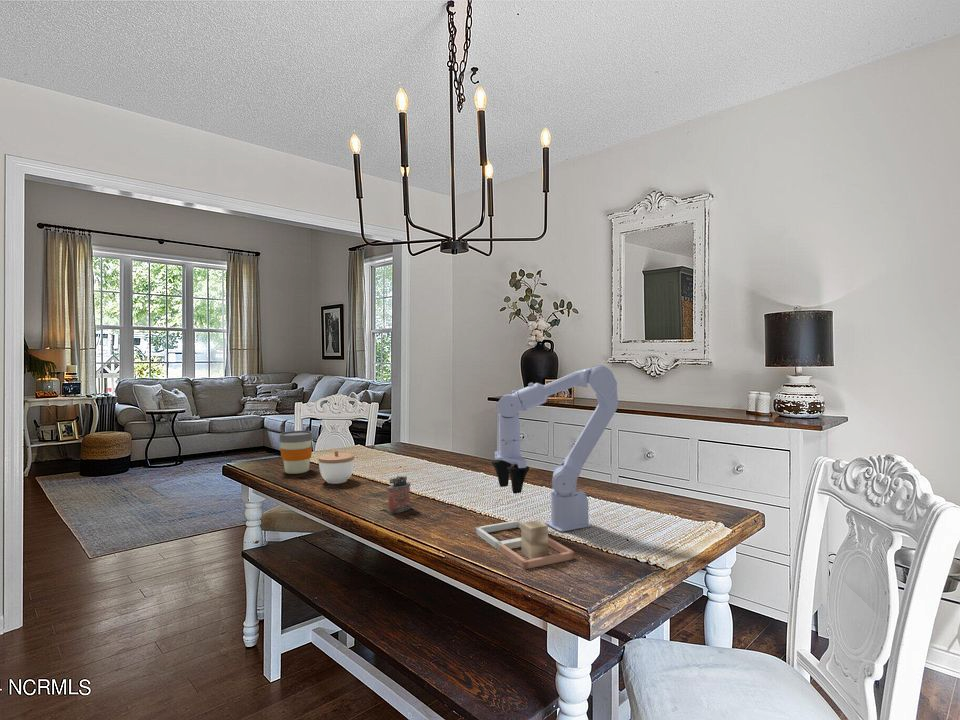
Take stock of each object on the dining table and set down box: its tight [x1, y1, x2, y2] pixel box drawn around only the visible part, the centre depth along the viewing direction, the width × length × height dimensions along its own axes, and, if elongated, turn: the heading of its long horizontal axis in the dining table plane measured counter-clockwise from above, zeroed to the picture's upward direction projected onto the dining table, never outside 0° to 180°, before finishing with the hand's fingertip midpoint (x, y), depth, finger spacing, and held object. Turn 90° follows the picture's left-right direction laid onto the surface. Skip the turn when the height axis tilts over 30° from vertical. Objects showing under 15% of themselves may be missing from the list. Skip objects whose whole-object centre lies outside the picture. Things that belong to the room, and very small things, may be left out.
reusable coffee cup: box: [278, 430, 313, 475], centre depth 220 cm, size 13×13×15 cm
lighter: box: [386, 475, 412, 515], centre depth 166 cm, size 8×3×10 cm, turn 141°
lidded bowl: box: [317, 450, 355, 485], centre depth 202 cm, size 13×13×11 cm
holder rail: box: [474, 519, 576, 570], centre depth 135 cm, size 13×26×2 cm, turn 25°
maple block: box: [520, 519, 549, 559], centre depth 129 cm, size 4×4×7 cm
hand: (510, 489), depth 150 cm, fingers open, 7 cm apart
